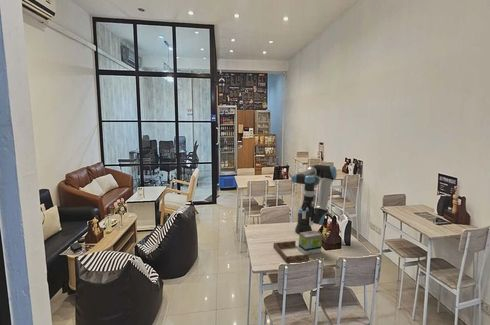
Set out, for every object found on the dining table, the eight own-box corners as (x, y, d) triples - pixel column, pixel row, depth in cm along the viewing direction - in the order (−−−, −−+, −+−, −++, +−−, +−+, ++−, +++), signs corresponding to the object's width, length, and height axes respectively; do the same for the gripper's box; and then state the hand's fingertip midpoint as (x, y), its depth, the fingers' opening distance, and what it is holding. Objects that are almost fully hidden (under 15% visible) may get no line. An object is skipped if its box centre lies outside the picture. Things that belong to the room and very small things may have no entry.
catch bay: (294, 245, 235) (294, 240, 235) (309, 259, 212) (309, 254, 211) (273, 247, 230) (273, 242, 230) (285, 262, 207) (285, 257, 206)
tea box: (305, 255, 218) (306, 237, 216) (297, 250, 227) (298, 232, 225) (321, 252, 224) (322, 234, 222) (313, 247, 233) (314, 229, 231)
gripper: (298, 191, 235) (296, 216, 238) (311, 200, 211) (309, 227, 214) (306, 191, 236) (305, 216, 240) (320, 199, 212) (319, 227, 216)
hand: (307, 221), depth 227 cm, fingers open, 13 cm apart
